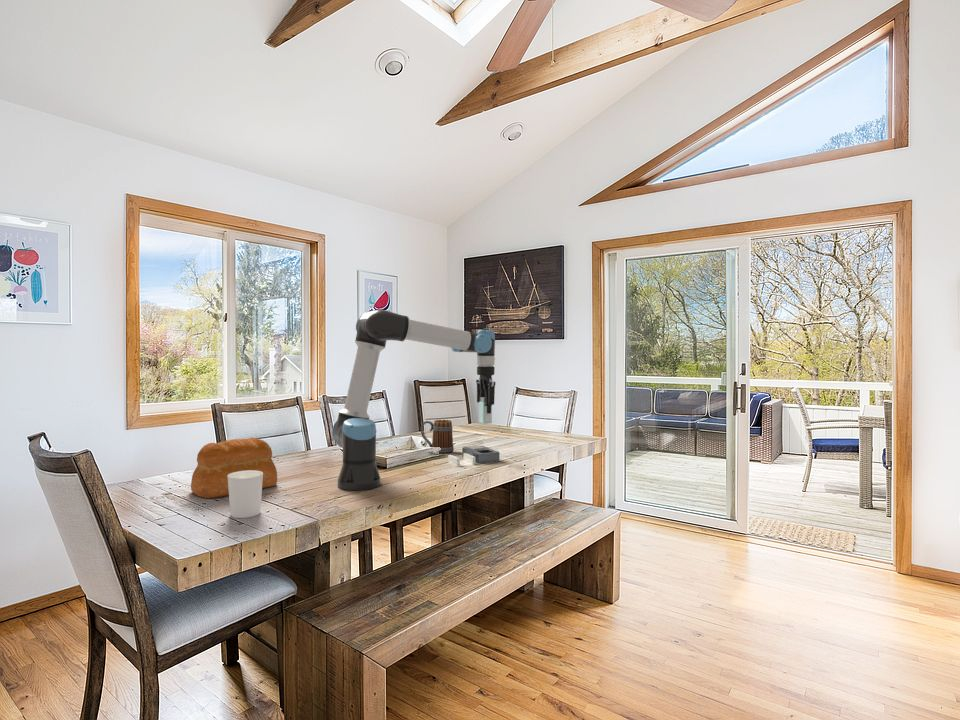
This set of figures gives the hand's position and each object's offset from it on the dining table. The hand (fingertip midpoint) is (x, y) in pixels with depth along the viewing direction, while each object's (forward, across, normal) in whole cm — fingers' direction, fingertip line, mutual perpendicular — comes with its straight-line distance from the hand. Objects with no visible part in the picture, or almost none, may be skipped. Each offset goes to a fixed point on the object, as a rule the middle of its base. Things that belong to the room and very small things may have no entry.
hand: (485, 420), depth 234 cm
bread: (+19, 0, +98) cm, 100 cm away
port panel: (+19, +4, 0) cm, 19 cm away
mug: (+19, +29, +10) cm, 36 cm away
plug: (+1, 0, 0) cm, 1 cm away
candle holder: (+19, -31, +97) cm, 104 cm away
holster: (+19, 0, +11) cm, 22 cm away
